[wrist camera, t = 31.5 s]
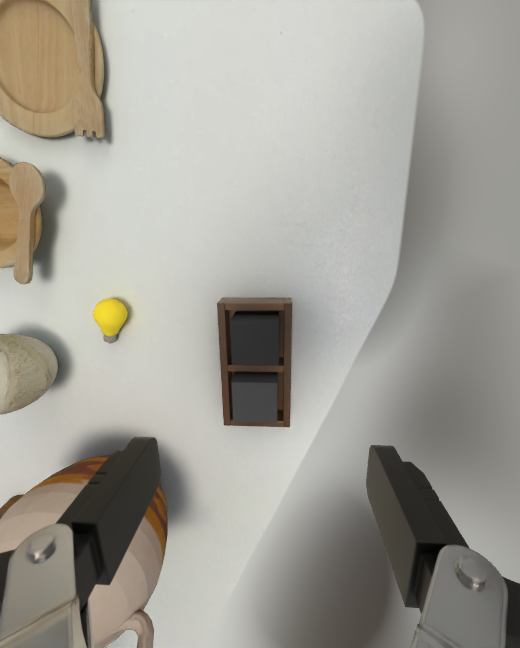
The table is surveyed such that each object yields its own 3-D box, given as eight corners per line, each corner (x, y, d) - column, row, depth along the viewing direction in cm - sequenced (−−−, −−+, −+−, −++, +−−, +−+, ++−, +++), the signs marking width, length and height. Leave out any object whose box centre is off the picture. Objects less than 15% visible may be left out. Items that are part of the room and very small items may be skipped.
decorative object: (83, 380, 38) (18, 427, 29) (24, 391, 40) (-58, 440, 30) (56, 316, 36) (-24, 343, 27) (-5, 329, 37) (-104, 361, 28)
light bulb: (130, 295, 35) (123, 312, 32) (128, 334, 38) (121, 353, 35) (98, 290, 34) (89, 307, 31) (99, 330, 37) (90, 349, 34)
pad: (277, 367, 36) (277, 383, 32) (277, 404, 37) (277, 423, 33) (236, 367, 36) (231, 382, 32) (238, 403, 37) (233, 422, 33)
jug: (216, 452, 40) (57, 992, 11) (184, 543, 45) (16, 1073, 16) (78, 406, 40) (-458, 853, 11) (61, 503, 45) (-335, 982, 16)
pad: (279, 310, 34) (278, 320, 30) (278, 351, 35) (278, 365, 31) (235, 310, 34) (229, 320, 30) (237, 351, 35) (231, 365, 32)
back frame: (290, 297, 34) (291, 303, 31) (289, 413, 38) (289, 427, 35) (222, 297, 34) (217, 303, 31) (228, 411, 38) (223, 425, 35)
